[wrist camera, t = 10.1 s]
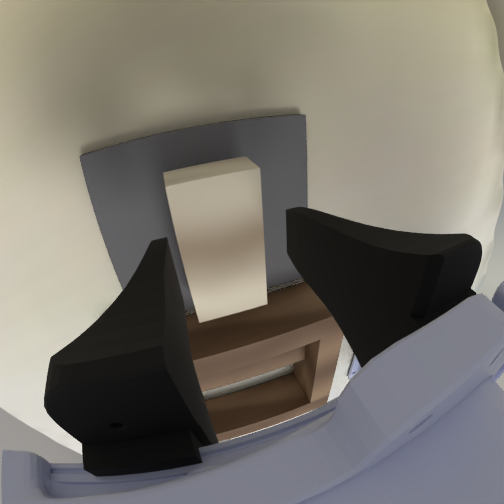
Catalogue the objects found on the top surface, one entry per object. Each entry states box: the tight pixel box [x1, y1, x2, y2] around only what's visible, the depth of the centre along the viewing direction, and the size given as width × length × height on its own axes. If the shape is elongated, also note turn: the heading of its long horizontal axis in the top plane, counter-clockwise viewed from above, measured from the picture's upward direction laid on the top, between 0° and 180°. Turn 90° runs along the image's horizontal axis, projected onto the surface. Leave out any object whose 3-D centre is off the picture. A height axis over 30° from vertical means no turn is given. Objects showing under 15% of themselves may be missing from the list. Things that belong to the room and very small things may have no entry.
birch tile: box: [163, 156, 267, 323], centre depth 15 cm, size 8×4×2 cm, turn 5°
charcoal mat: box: [80, 114, 307, 311], centre depth 16 cm, size 11×12×1 cm
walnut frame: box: [186, 282, 343, 442], centre depth 22 cm, size 14×15×4 cm
